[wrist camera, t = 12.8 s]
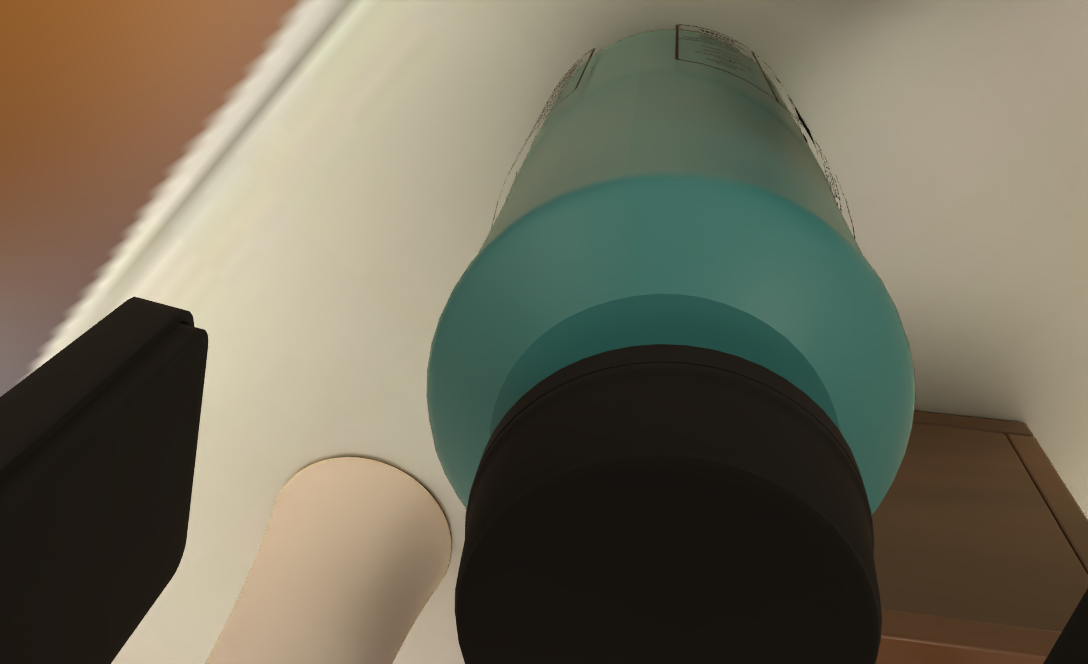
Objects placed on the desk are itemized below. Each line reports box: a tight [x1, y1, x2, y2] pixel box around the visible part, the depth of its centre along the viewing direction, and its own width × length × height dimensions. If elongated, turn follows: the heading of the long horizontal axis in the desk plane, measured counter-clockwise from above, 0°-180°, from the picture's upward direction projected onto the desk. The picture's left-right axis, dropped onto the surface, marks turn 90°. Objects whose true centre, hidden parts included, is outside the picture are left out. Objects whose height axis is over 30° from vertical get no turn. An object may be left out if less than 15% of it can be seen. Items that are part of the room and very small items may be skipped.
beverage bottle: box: [427, 24, 915, 664], centre depth 18 cm, size 6×7×20 cm
